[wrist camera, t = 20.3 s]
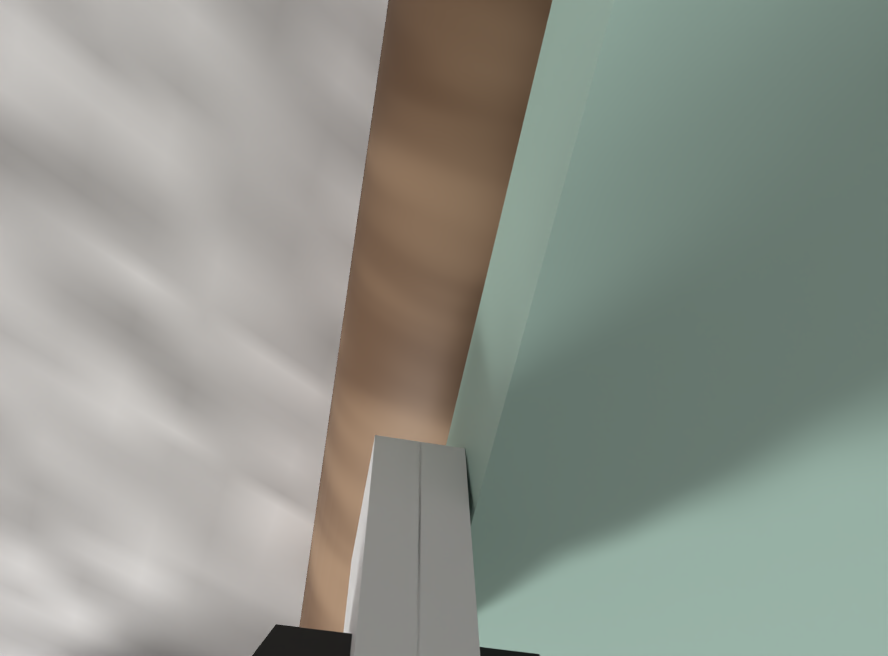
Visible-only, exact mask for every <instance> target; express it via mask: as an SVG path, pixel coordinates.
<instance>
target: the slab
mask: <svg viewBox="0 0 888 656" xmlns="http://www.w3.org/2000/svg"><path fill="white" fill-rule="evenodd" d="M446 446H452V447H459V448H465V456H466V469H467V483H468V496H469V510H470V523H471V537H472V550H473V564H474V578H475V591H476V605H477V618H478V632H479V645H480V647H485V648H494V649H502V650H510V651H518V652H527V653H535V654H539V655H540V656H888V0H552V4H551V8H550V13H549V17H548V21H547V25H546V29H545V34H544V38H543V42H542V46H541V50H540V54H539V59H538V63H537V67H536V71H535V75H534V80H533V84H532V88H531V92H530V96H529V100H528V105H527V109H526V113H525V117H524V121H523V126H522V130H521V134H520V138H519V142H518V146H517V151H516V155H515V159H514V163H513V167H512V172H511V176H510V180H509V184H508V188H507V192H506V197H505V201H504V205H503V209H502V213H501V218H500V222H499V226H498V230H497V234H496V238H495V243H494V247H493V251H492V255H491V259H490V264H489V268H488V272H487V276H486V280H485V284H484V289H483V293H482V297H481V301H480V305H479V310H478V314H477V318H476V322H475V326H474V330H473V335H472V339H471V343H470V347H469V351H468V356H467V360H466V364H465V368H464V372H463V376H462V381H461V385H460V389H459V393H458V397H457V402H456V406H455V410H454V414H453V418H452V422H451V427H450V431H449V435H448V439H447V443H446Z"/></svg>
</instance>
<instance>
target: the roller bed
mask: <svg viewBox="0 0 888 656" xmlns="http://www.w3.org/2000/svg"><path fill="white" fill-rule="evenodd" d="M551 4H552V0H389V1H388V8H387V15H386V22H385V29H384V36H383V43H382V50H381V57H380V64H379V71H378V78H377V85H376V92H375V99H374V107H373V114H372V121H371V128H370V135H369V142H368V149H367V156H366V163H365V170H364V177H363V184H362V191H361V198H360V205H359V212H358V219H357V226H356V233H355V240H354V247H353V254H352V261H351V268H350V275H349V282H348V289H347V296H346V303H345V311H344V318H343V325H342V332H341V339H340V346H339V353H338V360H337V367H336V374H335V381H334V388H333V395H332V402H331V409H330V416H329V423H328V430H327V437H326V444H325V451H324V458H323V465H322V472H321V479H320V486H319V493H318V500H317V507H316V515H315V522H314V529H313V536H312V543H311V550H310V557H309V564H308V571H307V578H306V585H305V592H304V599H303V606H302V613H301V620H300V627H301V628H310V629H318V630H326V631H334V632H343V631H344V622H345V614H346V605H347V596H348V587H349V578H350V569H351V560H352V555H353V550H354V545H355V539H356V534H357V529H358V523H359V518H360V513H361V507H362V502H363V497H364V491H365V486H366V481H367V475H368V470H369V465H370V460H371V454H372V449H373V444H374V438H375V435H378V436H385V437H391V438H398V439H405V440H412V441H418V442H425V443H432V444H439V445H445V446H446V443H447V439H448V435H449V431H450V427H451V422H452V418H453V414H454V410H455V406H456V402H457V397H458V393H459V389H460V385H461V381H462V376H463V372H464V368H465V364H466V360H467V356H468V351H469V347H470V343H471V339H472V335H473V330H474V326H475V322H476V318H477V314H478V310H479V305H480V301H481V297H482V293H483V289H484V284H485V280H486V276H487V272H488V268H489V264H490V259H491V255H492V251H493V247H494V243H495V238H496V234H497V230H498V226H499V222H500V218H501V213H502V209H503V205H504V201H505V197H506V192H507V188H508V184H509V180H510V176H511V172H512V167H513V163H514V159H515V155H516V151H517V146H518V142H519V138H520V134H521V130H522V126H523V121H524V117H525V113H526V109H527V105H528V100H529V96H530V92H531V88H532V84H533V80H534V75H535V71H536V67H537V63H538V59H539V54H540V50H541V46H542V42H543V38H544V34H545V29H546V25H547V21H548V17H549V13H550V8H551Z"/></svg>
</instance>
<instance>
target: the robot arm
mask: <svg viewBox="0 0 888 656" xmlns="http://www.w3.org/2000/svg"><path fill="white" fill-rule="evenodd" d="M252 656H540V655H539V654H535V653H527V652H518V651H510V650H502V649H494V648H485V647H480V645H479V632H478V618H477V605H476V591H475V578H474V564H473V550H472V537H471V523H470V510H469V496H468V483H467V469H466V456H465V448H459V447H452V446H445V445H439V444H432V443H425V442H418V441H412V440H405V439H398V438H391V437H385V436H378V435H375V438H374V444H373V449H372V454H371V460H370V465H369V470H368V475H367V481H366V486H365V491H364V497H363V502H362V507H361V513H360V518H359V523H358V529H357V534H356V539H355V545H354V550H353V555H352V560H351V569H350V578H349V587H348V596H347V605H346V614H345V622H344V631H343V632H334V631H326V630H318V629H310V628H301V627H293V626H285V625H275V627H274V628H273V629H272V630H271V632H270V633H269V634H268V636H267V637H266V638H265V640H264V641H263V642H262V644H261V645H260V646H259V647H258V649H257V650H256V651H255V653H254V654H253V655H252Z"/></svg>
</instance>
